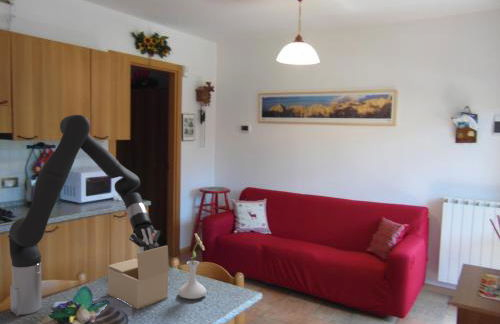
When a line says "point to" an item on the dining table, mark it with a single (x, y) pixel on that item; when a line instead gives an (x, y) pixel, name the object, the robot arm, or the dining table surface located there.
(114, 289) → the carton
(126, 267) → the back flap
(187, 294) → the flower in vase
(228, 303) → the dining table surface
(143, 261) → the front flap
